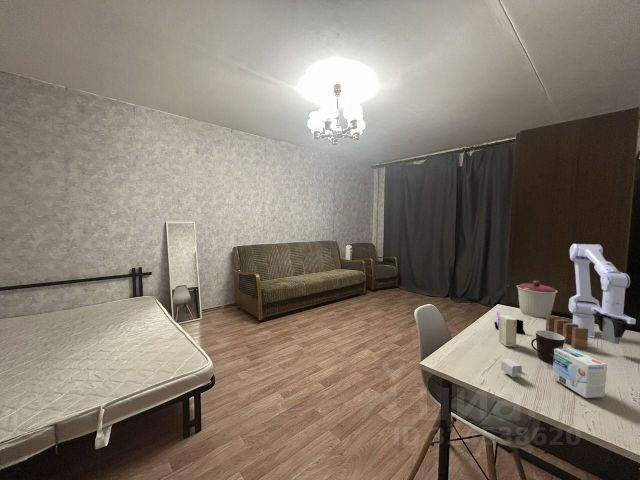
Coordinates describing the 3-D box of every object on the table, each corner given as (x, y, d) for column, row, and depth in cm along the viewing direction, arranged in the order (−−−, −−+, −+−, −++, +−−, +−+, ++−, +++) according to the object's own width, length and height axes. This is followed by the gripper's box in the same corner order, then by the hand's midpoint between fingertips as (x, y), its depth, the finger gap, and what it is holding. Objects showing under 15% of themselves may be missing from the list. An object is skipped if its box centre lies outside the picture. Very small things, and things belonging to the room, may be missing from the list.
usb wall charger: (510, 369, 92) (510, 358, 91) (528, 380, 85) (529, 369, 84) (500, 370, 91) (501, 359, 91) (518, 381, 84) (519, 370, 84)
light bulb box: (551, 377, 87) (553, 347, 86) (568, 376, 87) (570, 347, 86) (586, 398, 76) (588, 365, 75) (605, 397, 77) (608, 364, 76)
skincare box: (516, 347, 108) (517, 320, 107) (505, 346, 109) (506, 319, 108) (508, 340, 114) (509, 315, 113) (497, 339, 115) (499, 314, 114)
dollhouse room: (496, 330, 126) (496, 317, 126) (493, 322, 136) (494, 310, 136) (526, 335, 120) (526, 322, 119) (521, 326, 130) (522, 314, 130)
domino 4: (571, 347, 108) (572, 327, 107) (583, 347, 108) (584, 327, 107) (574, 348, 106) (576, 328, 106) (587, 349, 106) (588, 329, 105)
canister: (553, 324, 133) (556, 286, 132) (512, 315, 147) (513, 280, 145) (557, 316, 145) (559, 281, 143) (518, 308, 158) (520, 276, 157)
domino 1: (545, 333, 121) (546, 315, 121) (556, 334, 121) (557, 316, 120) (548, 335, 120) (549, 317, 119) (559, 335, 119) (560, 317, 119)
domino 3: (562, 342, 112) (563, 323, 112) (573, 342, 112) (575, 323, 111) (565, 344, 111) (566, 324, 110) (577, 344, 110) (578, 325, 110)
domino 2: (553, 337, 117) (554, 319, 116) (564, 338, 116) (565, 319, 116) (556, 339, 115) (557, 320, 115) (567, 339, 115) (569, 321, 114)
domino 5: (614, 343, 99) (616, 322, 99) (601, 338, 104) (602, 317, 104) (618, 343, 99) (620, 322, 99) (605, 338, 104) (607, 317, 103)
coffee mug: (555, 355, 101) (557, 331, 100) (568, 366, 93) (570, 341, 92) (521, 350, 105) (522, 328, 104) (531, 361, 97) (532, 336, 96)
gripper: (584, 296, 108) (582, 326, 109) (622, 307, 94) (620, 342, 95) (602, 296, 108) (599, 326, 108) (642, 308, 93) (639, 342, 94)
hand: (610, 334), depth 101 cm, fingers closed on domino 5, 5 cm apart
